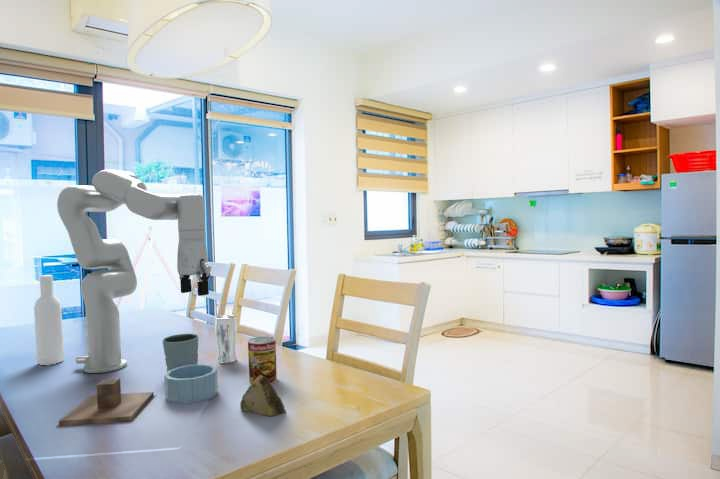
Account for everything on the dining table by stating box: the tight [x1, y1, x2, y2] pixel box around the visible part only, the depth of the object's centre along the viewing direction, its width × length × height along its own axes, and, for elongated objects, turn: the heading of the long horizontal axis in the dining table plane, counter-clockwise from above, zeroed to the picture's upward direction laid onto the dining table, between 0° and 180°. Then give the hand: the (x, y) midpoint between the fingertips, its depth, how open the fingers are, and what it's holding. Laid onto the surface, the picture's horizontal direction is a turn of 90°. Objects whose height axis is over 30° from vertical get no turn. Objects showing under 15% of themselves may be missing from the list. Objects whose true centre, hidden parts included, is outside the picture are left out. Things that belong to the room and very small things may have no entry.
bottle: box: [33, 274, 65, 366], centre depth 163 cm, size 8×8×30 cm
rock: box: [240, 375, 287, 417], centre depth 117 cm, size 11×9×10 cm
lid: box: [58, 377, 155, 426], centre depth 119 cm, size 16×16×7 cm
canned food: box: [247, 336, 278, 385], centre depth 140 cm, size 8×8×12 cm
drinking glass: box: [162, 333, 199, 373], centre depth 145 cm, size 10×10×12 cm
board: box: [55, 395, 156, 428], centre depth 119 cm, size 17×17×1 cm
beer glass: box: [214, 314, 238, 365], centre depth 160 cm, size 7×7×15 cm
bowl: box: [164, 363, 219, 404], centre depth 129 cm, size 13×13×6 cm
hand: (194, 293), depth 142 cm, fingers open, 9 cm apart
